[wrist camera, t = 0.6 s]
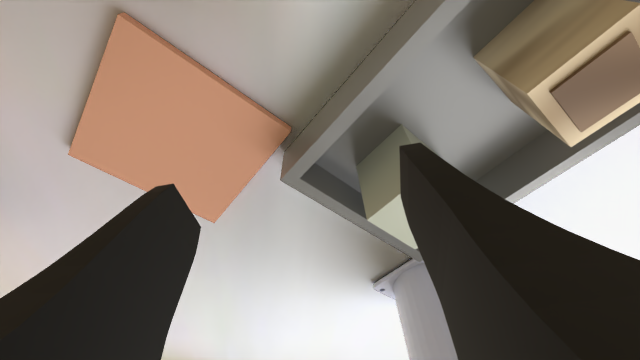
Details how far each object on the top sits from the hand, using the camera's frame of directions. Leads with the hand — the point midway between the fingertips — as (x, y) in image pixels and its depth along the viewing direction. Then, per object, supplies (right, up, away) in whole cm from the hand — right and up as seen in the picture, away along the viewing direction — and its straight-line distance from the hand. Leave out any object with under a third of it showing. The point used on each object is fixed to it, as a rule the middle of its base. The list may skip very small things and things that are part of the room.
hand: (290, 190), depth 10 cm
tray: (+9, +5, +8) cm, 13 cm away
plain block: (+6, +2, +10) cm, 12 cm away
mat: (-8, +3, +9) cm, 12 cm away
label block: (+12, +7, +6) cm, 15 cm away
